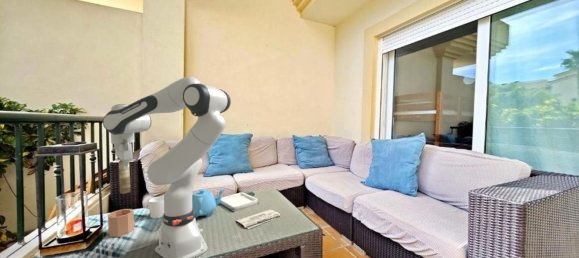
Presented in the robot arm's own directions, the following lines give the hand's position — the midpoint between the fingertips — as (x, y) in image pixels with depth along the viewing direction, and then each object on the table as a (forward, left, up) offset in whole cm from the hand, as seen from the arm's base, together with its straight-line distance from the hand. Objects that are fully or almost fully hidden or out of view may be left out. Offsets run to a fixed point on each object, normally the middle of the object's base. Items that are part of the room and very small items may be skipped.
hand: (124, 168), depth 106 cm
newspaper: (-34, -54, -32) cm, 71 cm away
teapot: (-6, -35, -31) cm, 47 cm away
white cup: (+7, -15, -31) cm, 35 cm away
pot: (-1, +2, -31) cm, 31 cm away
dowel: (0, 0, -12) cm, 12 cm away
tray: (-6, -58, -31) cm, 66 cm away
